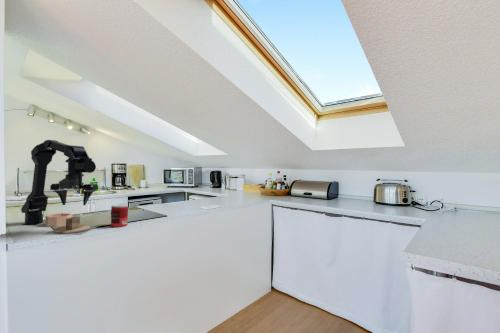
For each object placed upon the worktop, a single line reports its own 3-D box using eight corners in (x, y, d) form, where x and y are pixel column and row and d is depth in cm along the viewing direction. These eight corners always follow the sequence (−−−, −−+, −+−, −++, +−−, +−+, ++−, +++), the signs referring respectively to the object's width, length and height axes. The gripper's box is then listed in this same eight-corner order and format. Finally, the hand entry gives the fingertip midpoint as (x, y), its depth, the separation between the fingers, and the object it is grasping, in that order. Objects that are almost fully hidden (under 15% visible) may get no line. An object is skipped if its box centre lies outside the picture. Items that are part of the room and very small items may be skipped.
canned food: (128, 224, 138) (128, 203, 138) (126, 227, 130) (127, 205, 130) (112, 225, 135) (112, 204, 135) (109, 228, 127) (110, 206, 128)
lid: (46, 233, 114) (47, 220, 114) (67, 226, 128) (67, 214, 128) (79, 234, 115) (79, 221, 115) (96, 226, 129) (96, 215, 129)
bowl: (40, 227, 127) (41, 217, 127) (55, 222, 137) (55, 213, 137) (62, 227, 128) (63, 217, 128) (75, 222, 138) (76, 213, 138)
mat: (42, 235, 113) (42, 234, 113) (66, 226, 129) (66, 225, 129) (80, 235, 114) (80, 234, 114) (99, 227, 130) (99, 226, 130)
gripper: (41, 172, 113) (41, 207, 113) (86, 173, 115) (85, 208, 115) (58, 171, 124) (57, 204, 124) (98, 172, 126) (98, 204, 126)
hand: (74, 205), depth 122 cm, fingers open, 9 cm apart
